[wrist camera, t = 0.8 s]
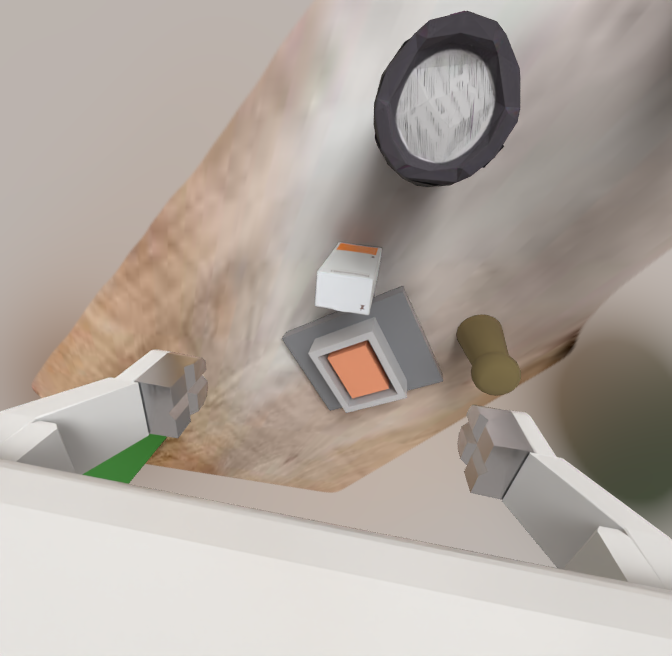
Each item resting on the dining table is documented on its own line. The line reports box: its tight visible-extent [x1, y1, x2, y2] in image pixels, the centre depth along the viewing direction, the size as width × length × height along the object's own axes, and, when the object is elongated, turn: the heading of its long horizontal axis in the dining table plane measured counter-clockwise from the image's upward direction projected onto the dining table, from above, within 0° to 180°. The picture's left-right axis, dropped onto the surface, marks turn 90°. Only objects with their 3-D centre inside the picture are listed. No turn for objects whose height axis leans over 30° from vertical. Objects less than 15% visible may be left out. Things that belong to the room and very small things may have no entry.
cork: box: [457, 315, 521, 395], centre depth 40 cm, size 6×6×11 cm
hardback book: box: [82, 434, 166, 484], centre depth 61 cm, size 18×7×24 cm, turn 46°
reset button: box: [328, 340, 389, 398], centre depth 46 cm, size 6×8×2 cm
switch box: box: [282, 286, 443, 413], centre depth 47 cm, size 20×16×6 cm
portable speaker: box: [374, 11, 520, 187], centre depth 25 cm, size 9×9×20 cm
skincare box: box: [315, 242, 382, 315], centre depth 37 cm, size 6×4×12 cm
